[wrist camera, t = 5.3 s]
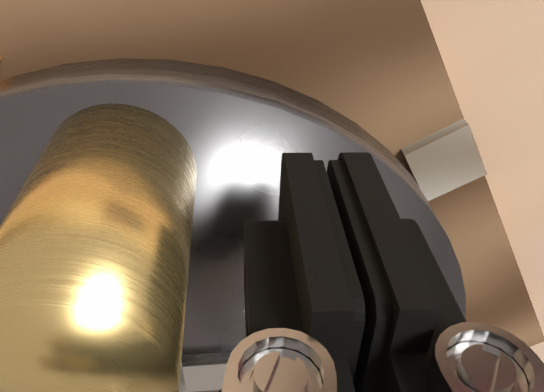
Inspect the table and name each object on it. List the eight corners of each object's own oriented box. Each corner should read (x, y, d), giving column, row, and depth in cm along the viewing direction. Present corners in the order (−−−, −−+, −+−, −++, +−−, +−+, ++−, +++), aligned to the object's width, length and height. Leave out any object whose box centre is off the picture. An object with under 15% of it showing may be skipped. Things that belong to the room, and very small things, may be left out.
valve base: (528, 313, 23) (550, 348, 21) (126, 470, 28) (120, 507, 26) (305, -272, 11) (318, -289, 10) (-321, 178, 16) (-379, 214, 14)
